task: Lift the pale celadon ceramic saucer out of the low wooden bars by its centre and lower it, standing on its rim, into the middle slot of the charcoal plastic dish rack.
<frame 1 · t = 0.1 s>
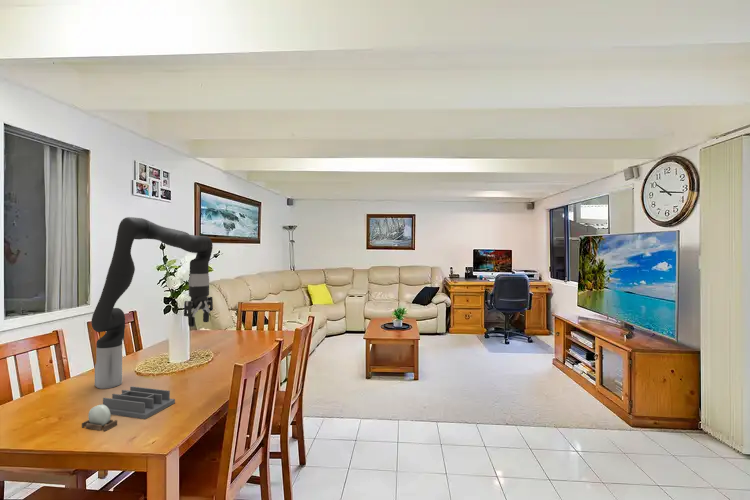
hand: (198, 324, 153), 29 cm above the table, tool pointing down, fingers open, 8 cm apart
rack: (137, 407, 141), on the table
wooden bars: (99, 426, 126), on the table
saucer: (99, 415, 126), point 3 cm above the table
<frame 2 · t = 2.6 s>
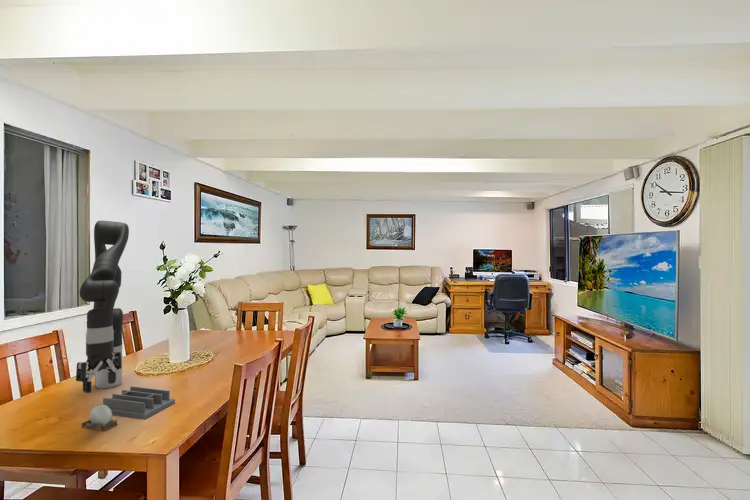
hand: (99, 387, 126), 13 cm above the table, tool pointing down, fingers open, 8 cm apart
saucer: (100, 416, 126), point 3 cm above the table, tilted 9°
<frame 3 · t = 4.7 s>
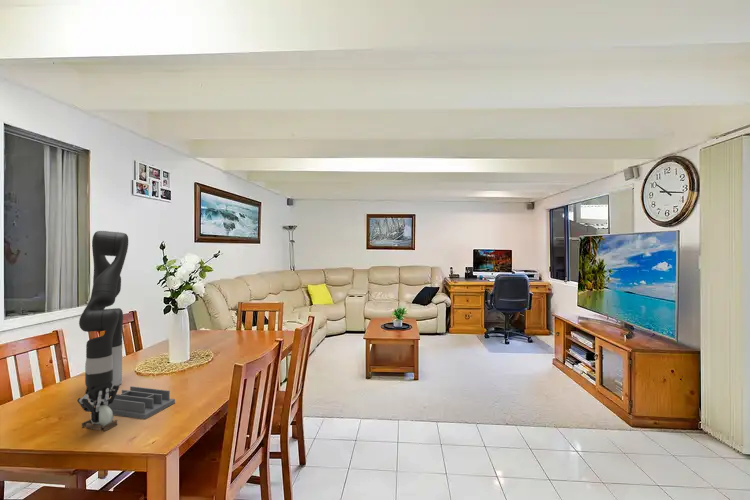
hand: (99, 420, 126), 2 cm above the table, tool pointing down, fingers closed on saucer, 1 cm apart
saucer: (101, 416, 126), point 4 cm above the table, tilted 20°, touching gripper
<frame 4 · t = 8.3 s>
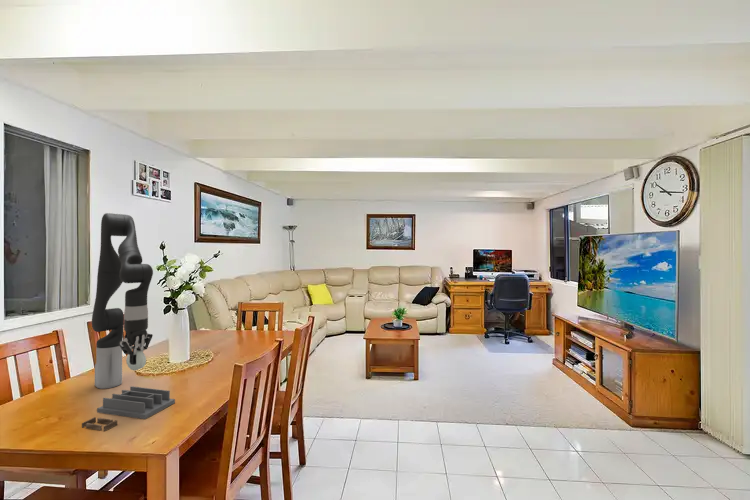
hand: (136, 363, 141), 17 cm above the table, tool pointing down, fingers closed on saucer
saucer: (136, 360, 141), point 18 cm above the table, tilted 21°, touching gripper
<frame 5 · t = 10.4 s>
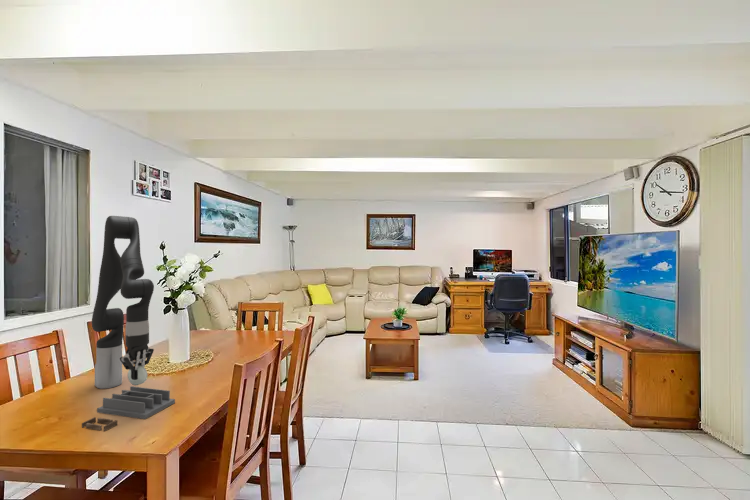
hand: (137, 378, 141), 11 cm above the table, tool pointing down, fingers closed on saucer
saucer: (137, 375, 141), point 12 cm above the table, tilted 20°, touching gripper
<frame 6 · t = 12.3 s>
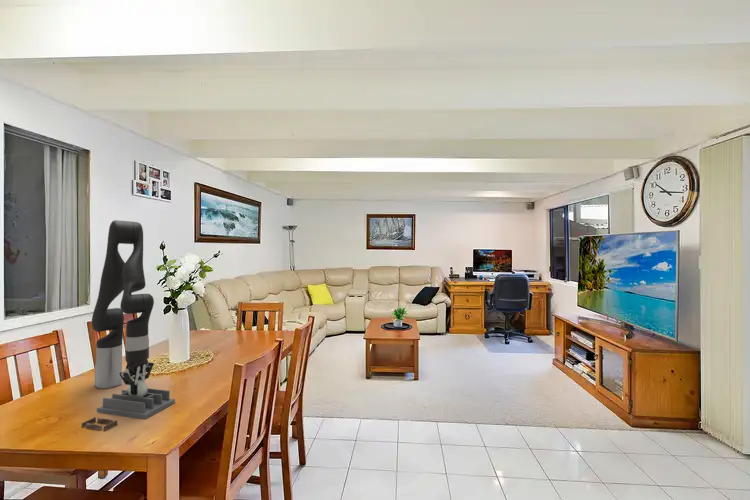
hand: (137, 392, 141), 6 cm above the table, tool pointing down, fingers closed on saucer, 2 cm apart
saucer: (137, 389, 141), point 7 cm above the table, tilted 18°, touching gripper
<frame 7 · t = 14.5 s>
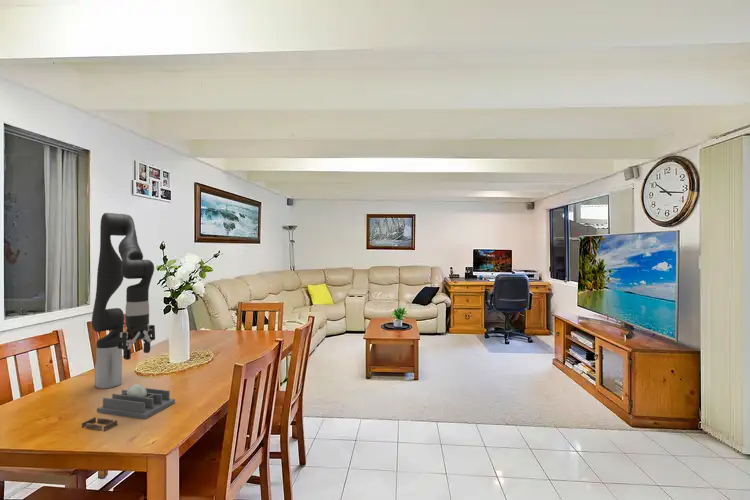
hand: (137, 355, 141), 20 cm above the table, tool pointing down, fingers open, 8 cm apart
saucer: (136, 394, 141), point 5 cm above the table, tilted 13°, touching rack
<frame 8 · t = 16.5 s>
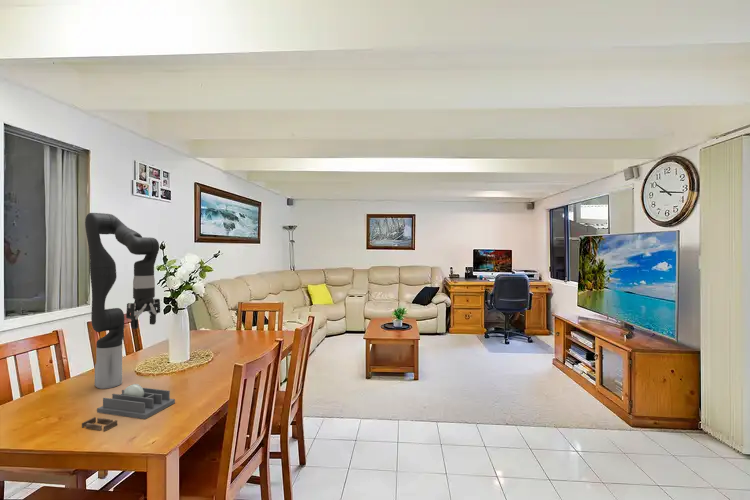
hand: (143, 326, 152), 28 cm above the table, tool pointing down, fingers open, 8 cm apart
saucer: (133, 394, 141), point 5 cm above the table, tilted 7°, touching rack
at the end: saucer 1.6 cm off-centre on the rack, point 5.0 cm above the rack's base; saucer touching rack; the gripper is holding nothing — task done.
